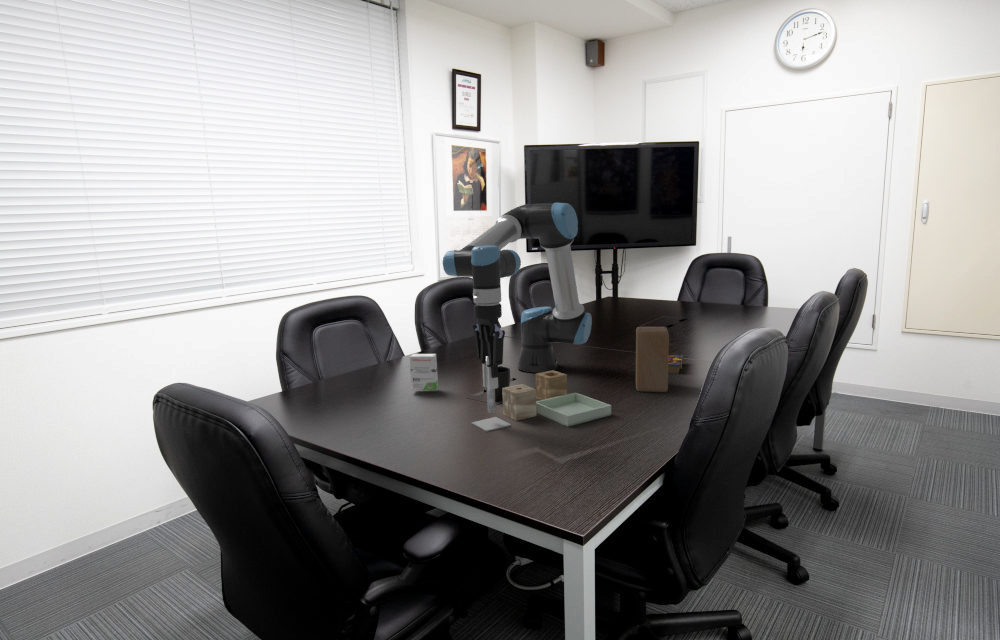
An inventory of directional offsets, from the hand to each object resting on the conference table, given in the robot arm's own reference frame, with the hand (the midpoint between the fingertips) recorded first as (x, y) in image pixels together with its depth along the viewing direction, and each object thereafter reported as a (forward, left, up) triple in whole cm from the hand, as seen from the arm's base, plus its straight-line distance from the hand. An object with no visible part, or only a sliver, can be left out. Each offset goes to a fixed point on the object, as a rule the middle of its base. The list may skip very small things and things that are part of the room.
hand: (490, 387), depth 165 cm
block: (+2, +61, -11) cm, 62 cm away
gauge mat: (0, 0, -11) cm, 11 cm away
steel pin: (0, 0, -7) cm, 7 cm away
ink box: (-45, +1, -11) cm, 46 cm away
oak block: (-9, +28, -11) cm, 31 cm away
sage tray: (+6, +24, -11) cm, 27 cm away
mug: (-21, +16, -11) cm, 28 cm away
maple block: (-2, +11, -11) cm, 15 cm away
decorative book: (-12, +83, -11) cm, 84 cm away
